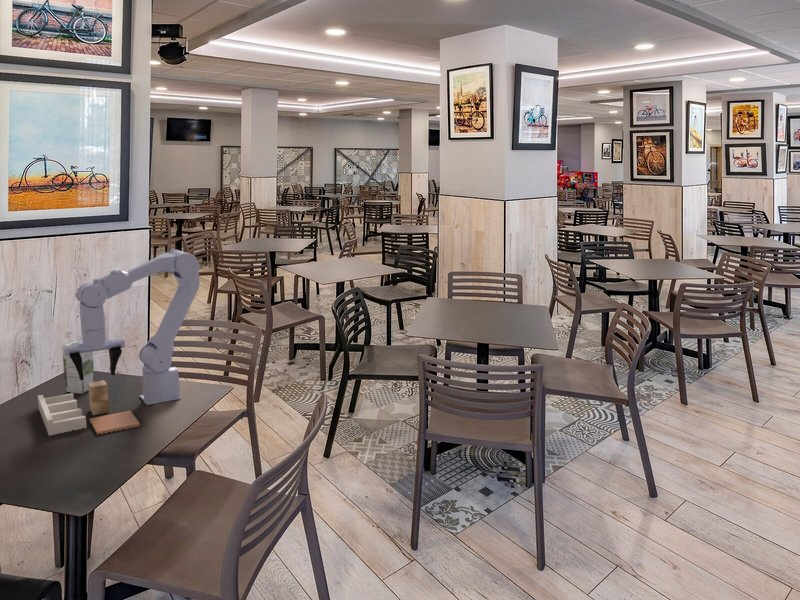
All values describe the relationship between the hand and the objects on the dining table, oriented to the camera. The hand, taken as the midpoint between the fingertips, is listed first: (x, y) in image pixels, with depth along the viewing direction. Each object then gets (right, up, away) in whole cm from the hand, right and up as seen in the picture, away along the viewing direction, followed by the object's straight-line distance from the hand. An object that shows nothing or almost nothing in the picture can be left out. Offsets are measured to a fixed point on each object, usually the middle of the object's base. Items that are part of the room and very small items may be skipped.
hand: (97, 376), depth 158 cm
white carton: (-14, -7, +17) cm, 23 cm away
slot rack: (-8, -11, -3) cm, 14 cm away
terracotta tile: (+7, -12, -6) cm, 15 cm away
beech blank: (0, -10, +2) cm, 10 cm away
